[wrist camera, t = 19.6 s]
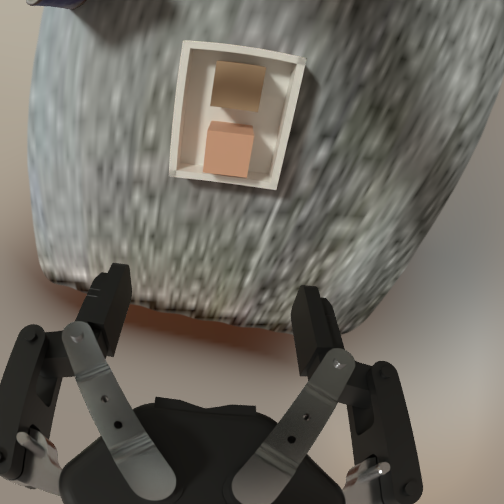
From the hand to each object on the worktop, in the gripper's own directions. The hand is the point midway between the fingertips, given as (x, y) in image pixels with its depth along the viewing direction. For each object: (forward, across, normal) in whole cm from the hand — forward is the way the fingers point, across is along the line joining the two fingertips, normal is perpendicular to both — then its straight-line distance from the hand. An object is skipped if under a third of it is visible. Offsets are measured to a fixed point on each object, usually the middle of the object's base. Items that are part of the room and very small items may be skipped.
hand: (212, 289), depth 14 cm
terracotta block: (+23, 0, 0) cm, 23 cm away
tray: (+24, 0, -4) cm, 24 cm away
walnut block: (+23, 0, -7) cm, 24 cm away
